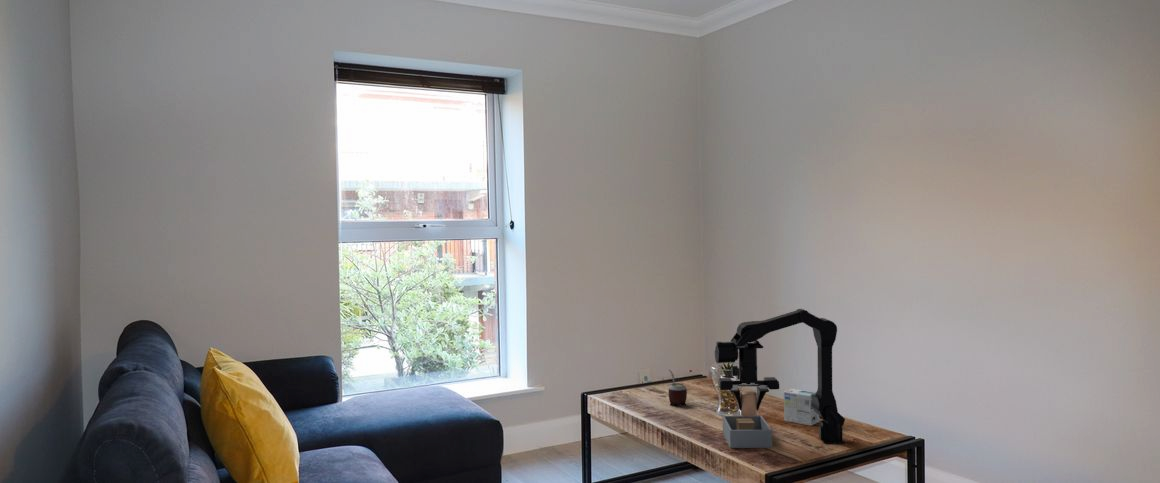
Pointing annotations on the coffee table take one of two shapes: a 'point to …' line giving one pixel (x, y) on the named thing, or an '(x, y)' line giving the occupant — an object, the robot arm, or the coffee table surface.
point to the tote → (747, 433)
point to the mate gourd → (677, 393)
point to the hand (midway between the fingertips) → (748, 410)
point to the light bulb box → (799, 407)
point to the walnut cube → (745, 424)
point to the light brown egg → (748, 404)
